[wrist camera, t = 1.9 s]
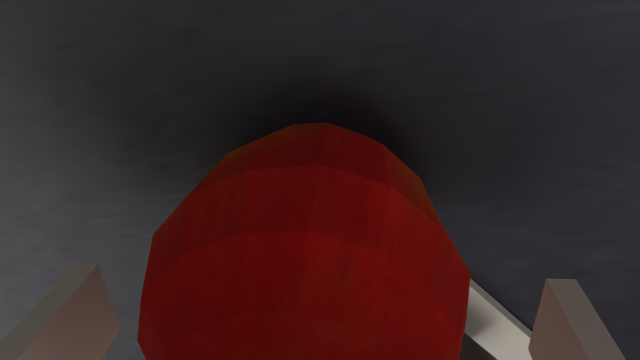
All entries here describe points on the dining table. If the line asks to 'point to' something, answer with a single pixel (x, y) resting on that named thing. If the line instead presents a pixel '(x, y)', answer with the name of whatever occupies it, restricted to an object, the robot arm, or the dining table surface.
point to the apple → (305, 259)
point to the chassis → (495, 327)
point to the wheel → (473, 350)
